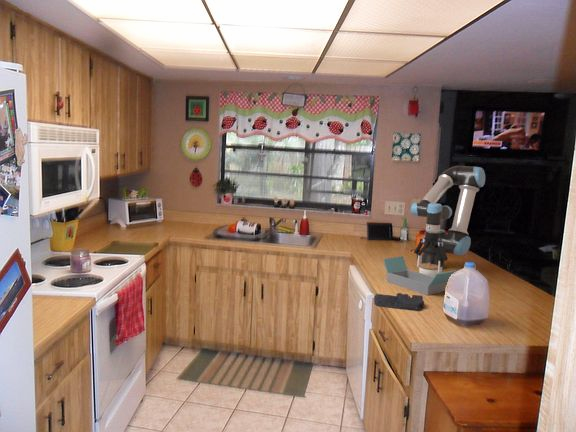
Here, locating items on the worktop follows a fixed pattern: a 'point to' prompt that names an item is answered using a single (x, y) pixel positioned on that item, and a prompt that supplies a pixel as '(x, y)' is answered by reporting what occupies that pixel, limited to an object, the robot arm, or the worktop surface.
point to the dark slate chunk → (400, 301)
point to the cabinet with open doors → (414, 277)
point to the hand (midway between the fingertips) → (429, 269)
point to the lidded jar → (428, 269)
